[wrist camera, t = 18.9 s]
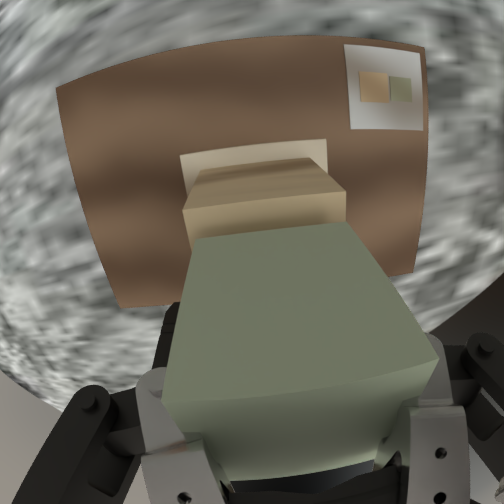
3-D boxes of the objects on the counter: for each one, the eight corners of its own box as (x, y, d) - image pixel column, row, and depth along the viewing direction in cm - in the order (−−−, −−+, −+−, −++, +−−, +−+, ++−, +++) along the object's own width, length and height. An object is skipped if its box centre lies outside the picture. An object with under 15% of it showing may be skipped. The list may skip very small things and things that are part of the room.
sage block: (195, 238, 10) (161, 400, 4) (346, 221, 10) (439, 358, 4) (221, 345, 12) (218, 480, 7) (339, 330, 12) (381, 456, 7)
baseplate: (65, 87, 14) (54, 88, 12) (414, 48, 13) (426, 47, 12) (124, 298, 22) (119, 309, 20) (406, 264, 21) (413, 273, 20)
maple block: (200, 169, 16) (182, 210, 11) (309, 157, 16) (346, 191, 11) (217, 263, 19) (212, 331, 14) (312, 252, 19) (339, 315, 14)
